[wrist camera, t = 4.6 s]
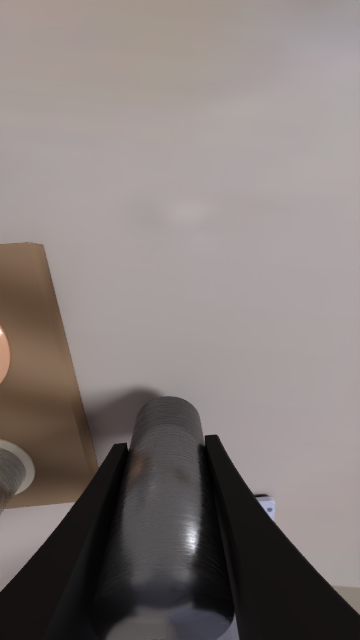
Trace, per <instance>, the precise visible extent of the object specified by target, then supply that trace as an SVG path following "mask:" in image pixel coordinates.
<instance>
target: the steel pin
mask: <svg viewBox="0 0 360 640" xmlns="http://www.w3.org/2000/svg"><path fill="white" fill-rule="evenodd" d="M234 615H235V608H234V602H233V596H232V591H231V585H230V580H229V574H228V569H227V563H226V558H225V552H224V547H223V541H222V536H221V530H220V525H219V520H218V514H217V509H216V503H215V498H214V492H213V487H212V481H211V476H210V470H209V465H208V459H207V454H206V448H205V443H204V437H203V432H202V426H201V421H200V416H199V414H198V412H197V410H196V409H195V407H194V406H193V405H192V404H190V403H189V402H188V401H186V400H184V399H181V398H178V397H171V396H166V397H160V398H156V399H154V400H151V401H150V402H148V403H147V404H145V405H144V406H143V407H142V408H141V410H140V411H139V413H138V415H137V418H136V422H135V426H134V431H133V435H132V439H131V443H130V447H129V452H128V456H127V460H126V464H125V469H124V473H123V477H122V481H121V486H120V490H119V494H118V498H117V503H116V507H115V511H114V515H113V520H112V524H111V528H110V532H109V537H108V541H107V545H106V549H105V553H104V558H103V562H102V566H101V570H100V575H99V579H98V583H97V587H96V592H95V596H94V600H93V604H92V609H91V613H90V624H91V628H92V630H93V632H94V633H95V634H96V636H97V637H98V638H99V639H100V640H217V639H218V638H219V637H221V636H222V635H223V634H224V633H225V632H226V631H227V630H228V628H229V627H230V625H231V624H232V622H233V619H234Z"/></svg>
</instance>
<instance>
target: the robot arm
mask: <svg viewBox="0 0 360 640" xmlns="http://www.w3.org/2000/svg"><path fill="white" fill-rule="evenodd" d="M205 448H206V454H207V459H208V465H209V470H210V476H211V481H212V487H213V492H214V498H215V503H216V509H217V514H218V520H219V525H220V530H221V536H222V541H223V547H224V552H225V558H226V563H227V569H228V574H229V580H230V585H231V591H232V596H233V602H234V608H235V615H234V619H233V622H232V624H231V625H230V627H229V628H228V630H227V631H226V632H225V633H224V634H223V635H222V636H221V637H219V638H218V639H217V640H360V615H359V614H358V613H357V612H356V611H355V610H354V609H353V608H352V607H351V606H350V605H349V604H348V603H347V602H346V601H345V600H344V599H343V598H342V597H341V596H340V595H339V594H338V593H337V592H336V591H335V590H334V589H333V587H332V586H331V585H330V584H329V583H328V582H327V581H326V580H325V579H324V578H323V577H322V576H321V575H320V574H319V573H318V572H317V571H316V570H315V568H314V567H313V566H312V565H311V564H310V563H309V562H308V561H307V560H306V558H305V557H304V556H303V555H302V554H301V553H300V552H299V551H298V549H297V548H296V547H295V546H294V545H293V544H292V543H291V542H290V540H289V539H288V538H287V537H286V536H285V535H284V533H283V532H282V531H281V530H280V528H279V527H278V526H277V525H276V524H275V522H274V514H275V502H274V500H273V498H272V497H270V496H266V497H256V498H255V496H254V495H253V493H252V492H251V490H250V489H249V488H248V486H247V485H246V483H245V482H244V480H243V479H242V477H241V476H240V474H239V473H238V471H237V469H236V468H235V466H234V465H233V463H232V461H231V460H230V458H229V456H228V454H227V453H226V451H225V449H224V447H223V445H222V443H221V441H220V439H219V437H218V436H217V435H206V436H205ZM127 456H128V448H127V443H119V444H114V445H113V447H112V449H111V450H110V452H109V453H108V455H107V457H106V458H105V460H104V461H103V463H102V465H101V466H100V468H99V469H98V471H97V472H96V474H95V475H94V477H93V478H92V480H91V481H90V483H89V484H88V486H87V487H86V489H85V490H84V491H83V493H82V494H81V496H80V497H79V498H78V500H77V501H76V503H75V504H74V505H73V507H72V508H71V509H70V511H69V512H68V513H67V515H66V516H65V517H64V519H63V520H62V521H61V523H60V524H59V525H58V526H57V528H56V529H55V530H54V531H53V533H52V534H51V535H50V536H49V537H48V539H47V540H46V541H45V542H44V544H43V545H42V546H41V547H40V548H39V549H38V551H37V552H36V553H35V554H34V555H33V556H32V558H31V559H30V560H29V561H28V562H27V563H26V565H25V566H24V567H23V568H22V569H21V570H20V571H19V572H18V574H17V575H16V576H15V577H14V578H13V579H12V580H11V581H10V582H9V583H8V584H7V585H6V587H5V588H4V589H3V590H2V591H1V592H0V640H100V639H99V638H98V637H97V636H96V634H95V633H94V632H93V630H92V628H91V624H90V613H91V609H92V604H93V600H94V596H95V592H96V587H97V583H98V579H99V575H100V570H101V566H102V562H103V558H104V553H105V549H106V545H107V541H108V537H109V532H110V528H111V524H112V520H113V515H114V511H115V507H116V503H117V498H118V494H119V490H120V486H121V481H122V477H123V473H124V469H125V464H126V460H127Z"/></svg>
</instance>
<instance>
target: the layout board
mask: <svg viewBox="0 0 360 640" xmlns="http://www.w3.org/2000/svg"><path fill="white" fill-rule="evenodd" d="M97 471H98V465H97V461H96V457H95V453H94V448H93V444H92V440H91V436H90V432H89V428H88V424H87V420H86V416H85V412H84V408H83V404H82V400H81V396H80V392H79V388H78V384H77V380H76V376H75V372H74V368H73V364H72V360H71V356H70V351H69V347H68V343H67V339H66V335H65V331H64V327H63V323H62V319H61V315H60V311H59V307H58V303H57V299H56V295H55V291H54V287H53V283H52V279H51V275H50V271H49V267H48V263H47V259H46V254H45V250H44V246H43V245H42V244H36V243H29V242H25V243H12V244H0V515H1V513H2V512H3V511H4V509H8V508H18V507H29V506H39V505H49V504H59V503H69V502H76V501H77V500H78V498H79V497H80V496H81V494H82V493H83V491H84V490H85V489H86V487H87V486H88V484H89V483H90V481H91V480H92V478H93V477H94V475H95V474H96V472H97Z"/></svg>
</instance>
